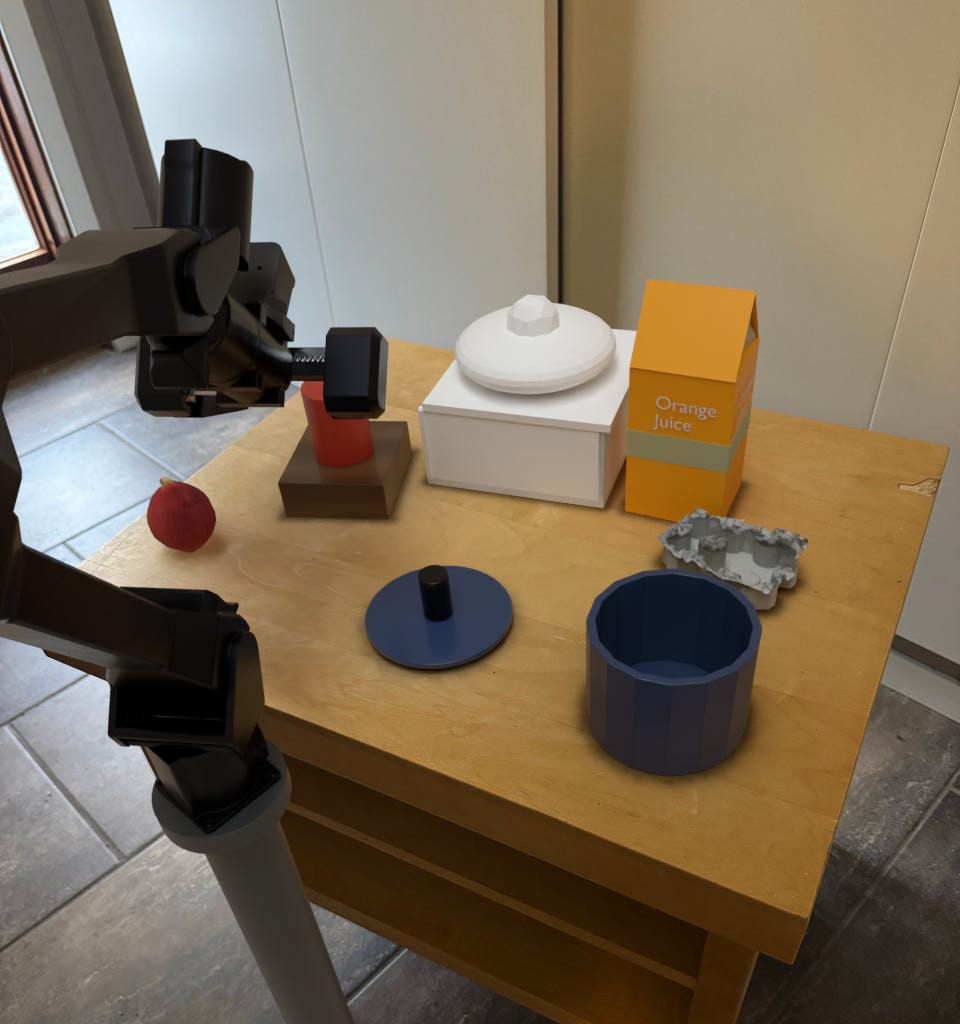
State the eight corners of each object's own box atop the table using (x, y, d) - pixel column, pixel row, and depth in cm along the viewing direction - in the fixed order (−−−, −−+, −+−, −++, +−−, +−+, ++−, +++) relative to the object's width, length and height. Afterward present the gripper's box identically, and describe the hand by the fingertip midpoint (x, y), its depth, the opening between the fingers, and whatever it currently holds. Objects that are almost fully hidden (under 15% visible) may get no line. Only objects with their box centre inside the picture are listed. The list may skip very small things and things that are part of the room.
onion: (216, 524, 91) (192, 451, 86) (232, 556, 87) (208, 482, 82) (155, 544, 90) (127, 471, 84) (169, 578, 86) (140, 504, 80)
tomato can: (341, 474, 89) (327, 406, 84) (303, 454, 92) (287, 388, 87) (385, 447, 92) (374, 380, 87) (347, 429, 95) (334, 363, 90)
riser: (388, 519, 90) (382, 485, 87) (286, 516, 91) (277, 482, 89) (412, 454, 98) (407, 421, 95) (317, 452, 99) (310, 420, 97)
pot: (687, 803, 64) (697, 711, 58) (556, 723, 70) (552, 633, 64) (775, 705, 69) (793, 612, 63) (647, 639, 75) (652, 548, 69)
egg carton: (808, 578, 79) (817, 539, 76) (756, 625, 76) (762, 586, 73) (701, 528, 85) (705, 489, 82) (647, 569, 81) (650, 531, 79)
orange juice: (650, 466, 93) (661, 259, 79) (742, 483, 89) (770, 270, 76) (623, 512, 88) (629, 299, 74) (719, 531, 84) (745, 313, 71)
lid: (441, 697, 73) (433, 649, 69) (336, 631, 79) (325, 583, 75) (543, 613, 79) (541, 564, 75) (438, 557, 85) (432, 510, 81)
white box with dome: (487, 394, 105) (475, 247, 94) (650, 412, 100) (658, 259, 89) (427, 484, 93) (405, 329, 82) (608, 510, 88) (611, 348, 77)
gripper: (360, 216, 63) (415, 305, 78) (96, 223, 66) (199, 307, 81) (351, 386, 63) (408, 441, 78) (87, 385, 66) (191, 439, 81)
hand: (299, 403), depth 79 cm, fingers open, 9 cm apart
